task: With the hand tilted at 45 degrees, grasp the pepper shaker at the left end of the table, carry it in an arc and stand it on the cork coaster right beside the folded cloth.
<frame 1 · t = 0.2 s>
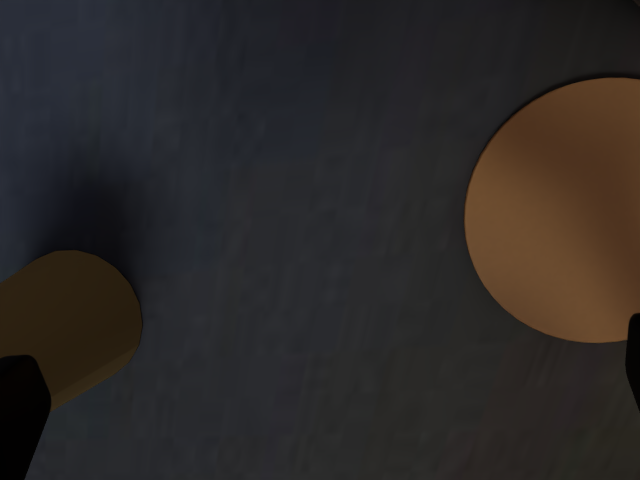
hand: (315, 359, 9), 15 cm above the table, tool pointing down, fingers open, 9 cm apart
pepper shaker: (78, 315, 27), on the table
cork coaster: (598, 214, 23), on the table
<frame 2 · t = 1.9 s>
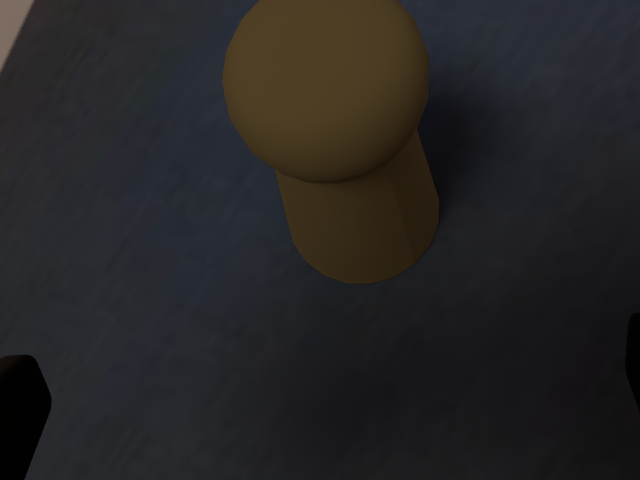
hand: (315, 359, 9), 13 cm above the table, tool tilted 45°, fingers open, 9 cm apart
pepper shaker: (362, 211, 24), on the table
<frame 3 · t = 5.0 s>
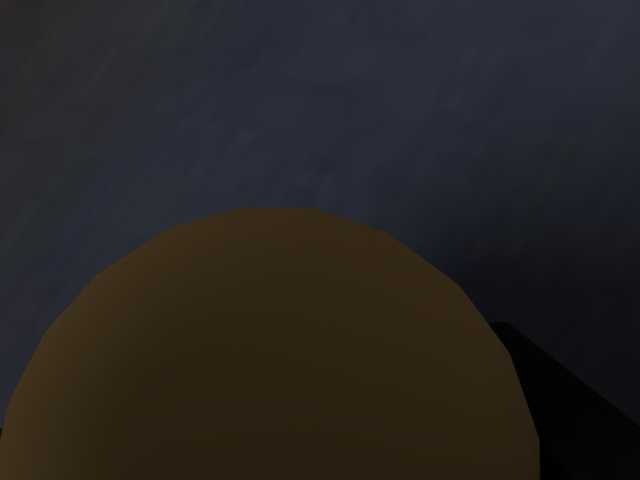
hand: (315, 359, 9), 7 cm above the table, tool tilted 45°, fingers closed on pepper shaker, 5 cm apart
pepper shaker: (363, 454, 15), on the table, touching gripper
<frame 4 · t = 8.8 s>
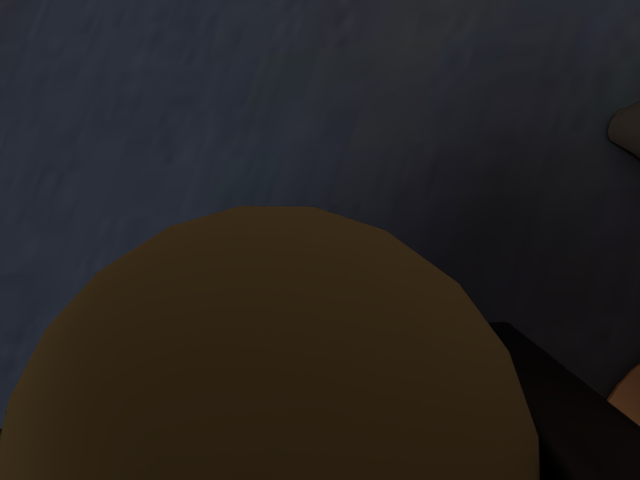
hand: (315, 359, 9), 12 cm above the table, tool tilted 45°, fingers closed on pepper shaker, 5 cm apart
pepper shaker: (362, 453, 15), point 5 cm above the table, touching gripper
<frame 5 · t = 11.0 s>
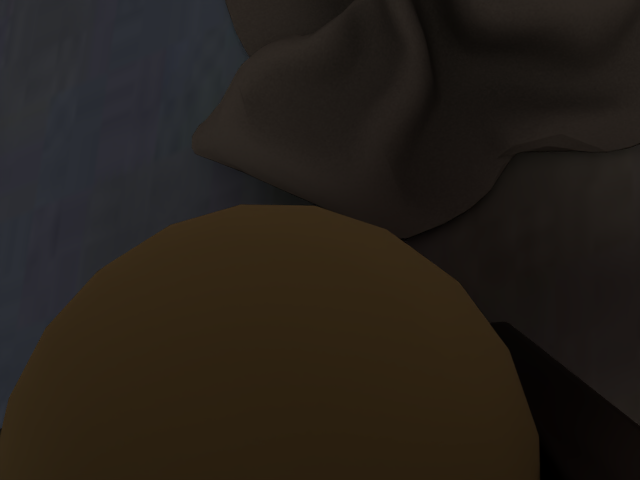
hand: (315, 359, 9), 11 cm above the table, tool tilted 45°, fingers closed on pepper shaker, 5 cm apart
pepper shaker: (363, 453, 15), point 4 cm above the table, touching gripper
cloth: (464, 3, 24), on the table
when the fingers open (7 cm above the table, at t = 12.6 s): pepper shaker stays where it is, resting on cork coaster.
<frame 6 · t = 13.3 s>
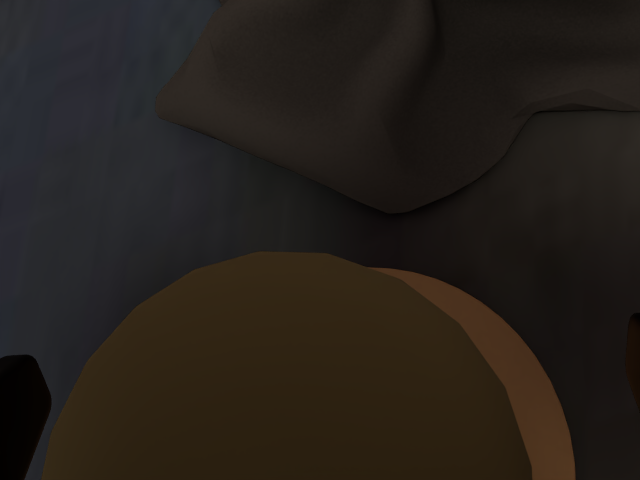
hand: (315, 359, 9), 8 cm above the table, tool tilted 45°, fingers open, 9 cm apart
pepper shaker: (367, 465, 16), resting on cork coaster
cork coaster: (368, 456, 16), on the table
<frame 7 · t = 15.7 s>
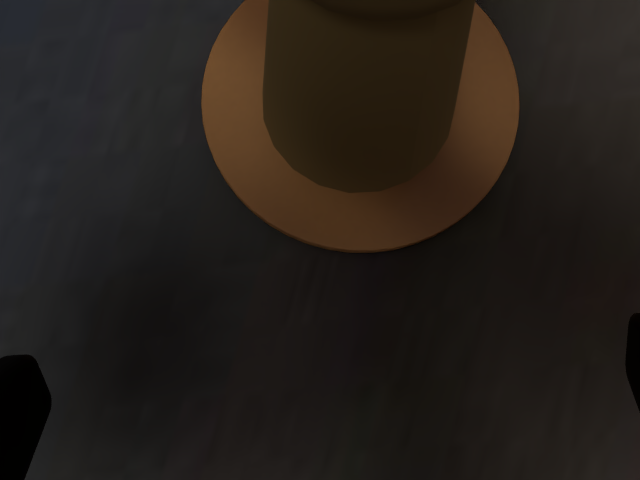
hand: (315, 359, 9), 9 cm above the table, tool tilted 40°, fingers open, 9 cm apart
pepper shaker: (357, 103, 19), resting on cork coaster
cork coaster: (359, 100, 20), on the table
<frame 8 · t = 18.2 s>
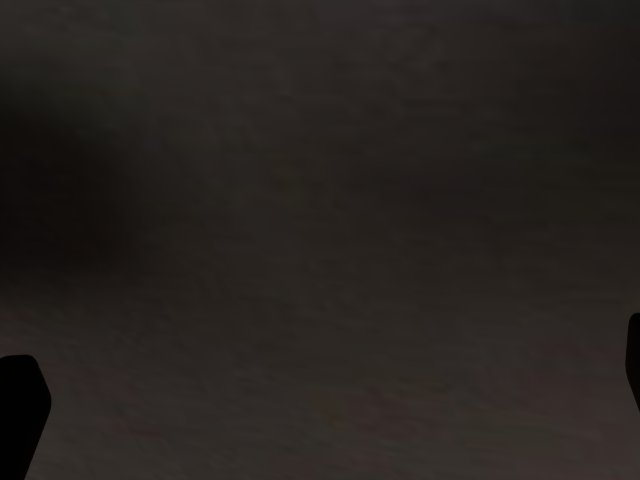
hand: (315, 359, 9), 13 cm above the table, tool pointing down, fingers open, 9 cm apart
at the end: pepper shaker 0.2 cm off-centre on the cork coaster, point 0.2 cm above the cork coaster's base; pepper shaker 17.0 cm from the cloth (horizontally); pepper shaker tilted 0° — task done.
